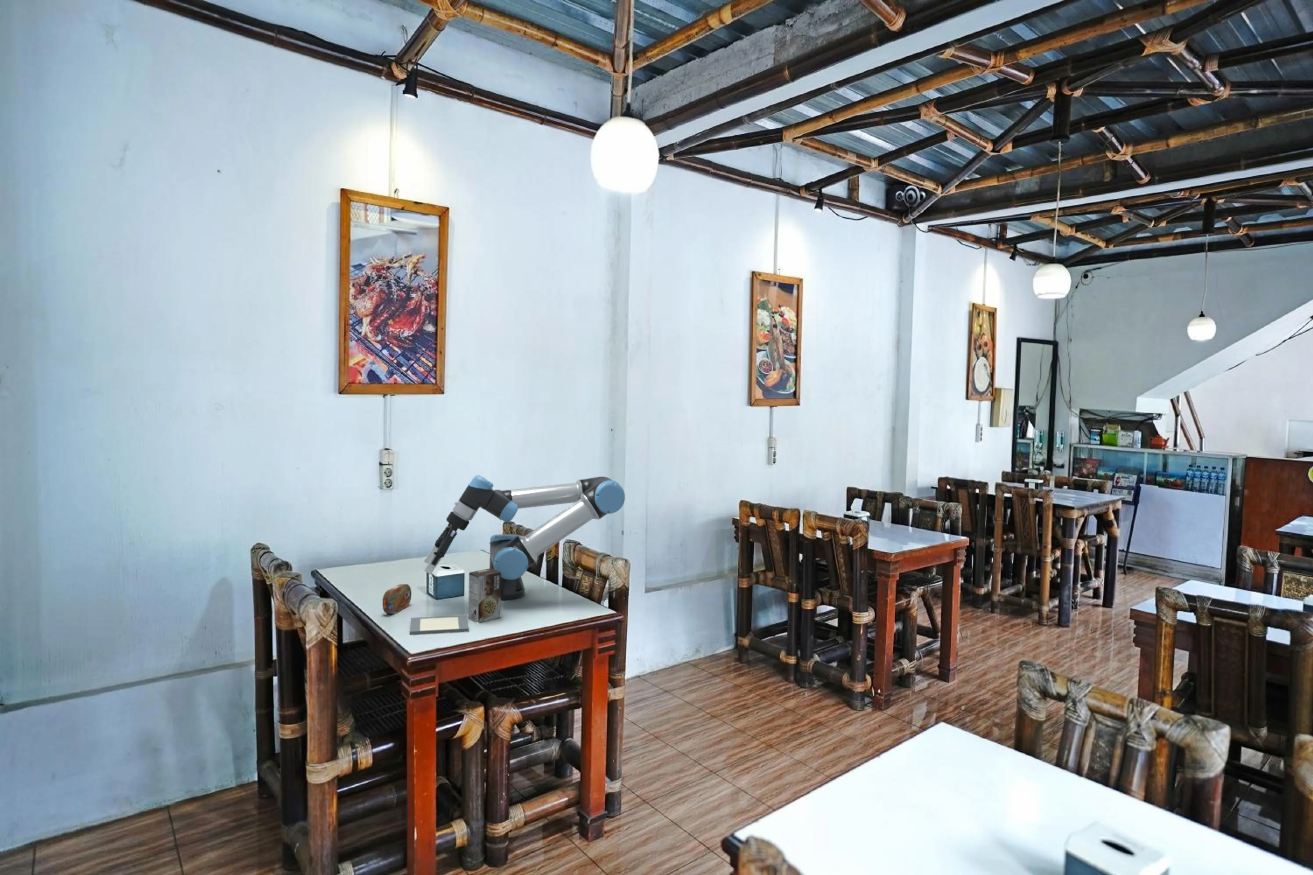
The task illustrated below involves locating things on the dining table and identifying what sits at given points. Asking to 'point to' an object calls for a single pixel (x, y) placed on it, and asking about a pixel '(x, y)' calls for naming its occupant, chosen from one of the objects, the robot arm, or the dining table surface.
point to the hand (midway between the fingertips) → (427, 567)
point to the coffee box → (484, 595)
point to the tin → (396, 598)
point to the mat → (438, 624)
